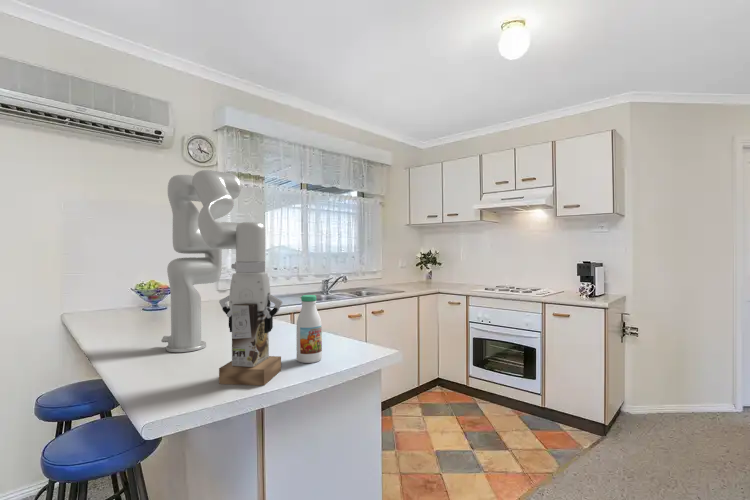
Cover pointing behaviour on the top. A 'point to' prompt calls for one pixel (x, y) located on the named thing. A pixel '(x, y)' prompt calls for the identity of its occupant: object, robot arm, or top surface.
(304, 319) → the milk bottle
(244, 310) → the cookie box
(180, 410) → the top surface
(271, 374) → the plinth
